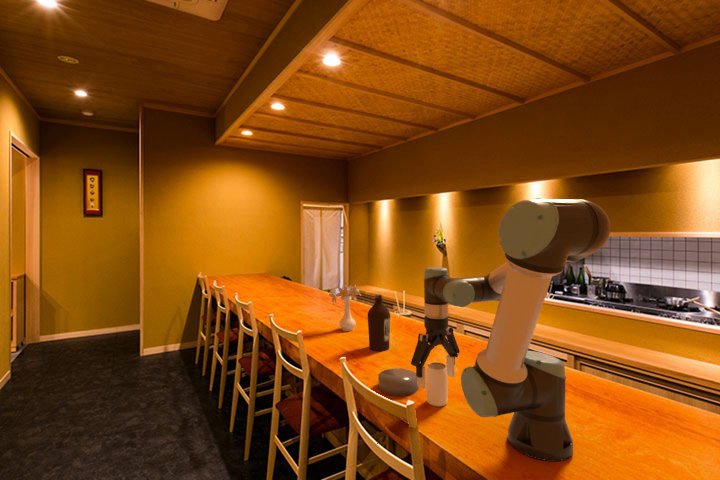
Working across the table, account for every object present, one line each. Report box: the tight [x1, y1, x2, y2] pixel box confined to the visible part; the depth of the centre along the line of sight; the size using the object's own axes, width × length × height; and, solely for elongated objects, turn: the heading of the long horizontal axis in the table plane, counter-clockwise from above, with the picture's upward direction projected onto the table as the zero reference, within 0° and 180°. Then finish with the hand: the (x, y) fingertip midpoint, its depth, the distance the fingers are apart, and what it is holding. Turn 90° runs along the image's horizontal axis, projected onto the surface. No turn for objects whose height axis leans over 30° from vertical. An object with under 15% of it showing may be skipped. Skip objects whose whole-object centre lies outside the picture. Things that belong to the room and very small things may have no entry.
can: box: [426, 362, 448, 408], centre depth 120 cm, size 6×6×12 cm
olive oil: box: [367, 294, 391, 352], centre depth 175 cm, size 11×11×25 cm
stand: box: [377, 368, 419, 397], centre depth 132 cm, size 14×14×4 cm
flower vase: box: [329, 284, 362, 332], centre depth 207 cm, size 13×18×25 cm
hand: (436, 381), depth 120 cm, fingers open, 13 cm apart
